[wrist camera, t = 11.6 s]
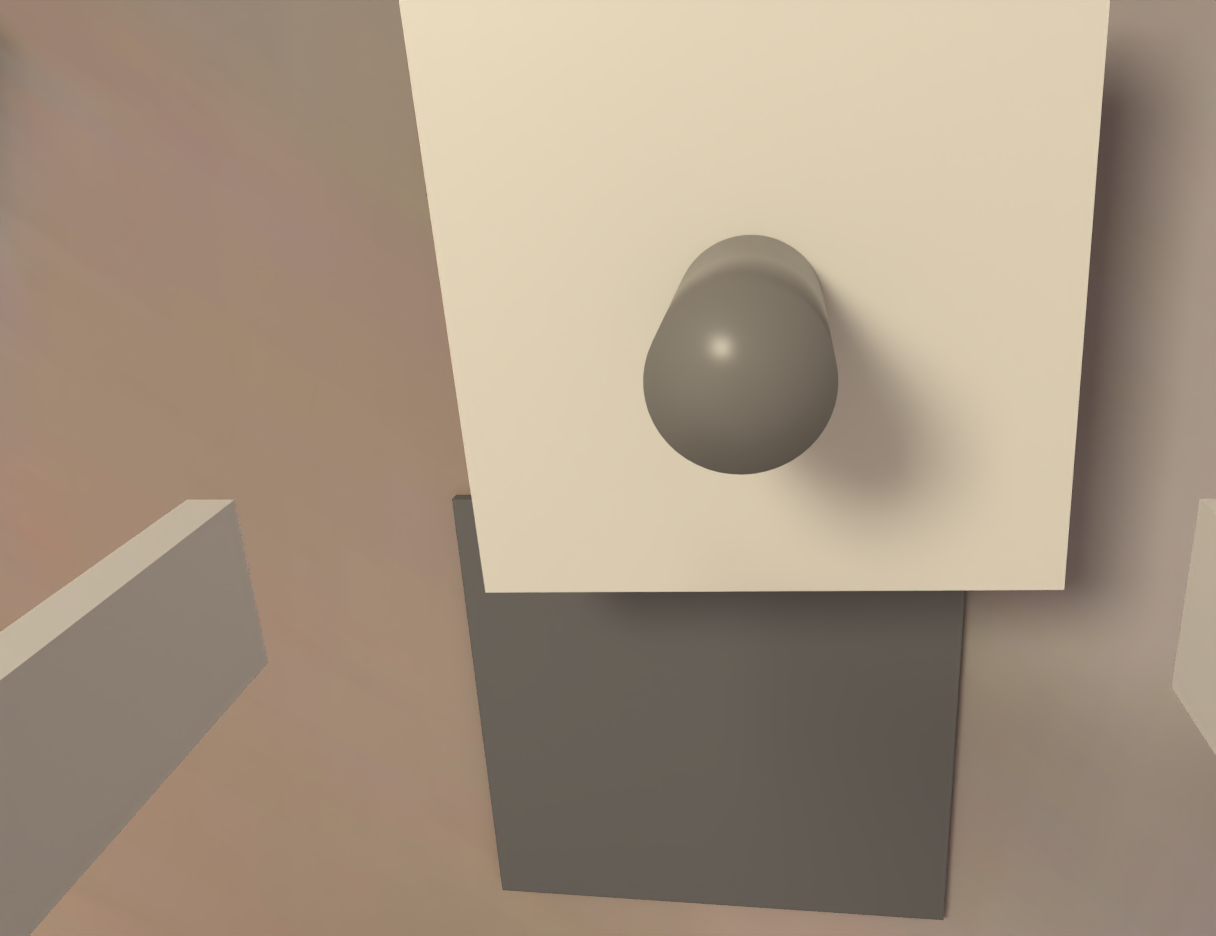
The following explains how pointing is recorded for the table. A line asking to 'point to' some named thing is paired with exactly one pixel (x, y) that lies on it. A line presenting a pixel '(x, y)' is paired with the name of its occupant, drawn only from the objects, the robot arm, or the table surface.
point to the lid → (763, 285)
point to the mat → (719, 742)
